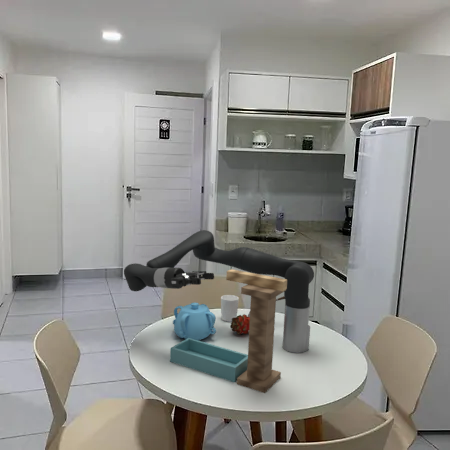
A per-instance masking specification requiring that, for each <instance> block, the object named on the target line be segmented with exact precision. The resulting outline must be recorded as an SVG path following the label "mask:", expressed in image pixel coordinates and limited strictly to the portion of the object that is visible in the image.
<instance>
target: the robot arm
mask: <svg viewBox="0 0 450 450" xmlns="http://www.w3.org/2000/svg"><path fill="white" fill-rule="evenodd" d="M214 237H215V236H214V234H213V233H212V232H211V231H210V230H199V231H196V232H195V233H193V234H191V235H190V236H188V237H187V238H186V239H184V240H183V241H181V242H180V243H178V244H177V245H176V246H174V247H173V248H171V249H169V250H167V251H166V252H164V253H162V254H160V255H158V256H156V257H154V258H152V259H150V260H148V261H147V262H146V265H145V264H141V263H136V262H135V263H130V264H128V265H127V266H125V267H124V270H123V275H124V278H125V280H126V283H127V286H128V289H129V290H130V291H132V292H140V291H142V290H144V289H146V288H147V287H149V288H161V289H175V290H176V289H177V290H178V289H182V288H183V287H186V286H191V285H197V286H198V285H201V284H202V280H204V281H205V280H214V279H215V273H213V272H207V271H206V270H204V271H203V270H201V271H200V270H197V271H196V270H193V271H186V272H185V271H184V269H183V268H182V267H176V266H177V265H178V263H180V262H181V260H183V258H184V257H185V256H186V255H187V254H188V253H190V252H191V251H192V253H193V255H194V257H195V258H197V259H199V260H202V261H206V262H210V263H217V264H221V265H225V266H228V267H233V268H235V269H238V270H240V271H243V272H249V273H254V274H260V275H265V276H277V277H279V278H280V277H281V278H282V279H287V289H286V291H284V292H283V293H284V294H283V295H284V297H285V299H284V302H285V303H284V315H283V316H284V317H283V318H284V319H283V334H282V348H283V350H285V351H287V352H290V353H295V354H297V353H298V354H299V353H300V354H301V353H304V352H306V351H309V349H310V338H311V325H310V324H309V322H310V321H309V319H310V307H311V306H310V305H311V303H310V302H311V299H310V298H309V290H310V289H309V288H310V284H311V283H312V281H313V280H314V277H315V271H314V269H313V267H312V266H311V265H310V264H309V263H306V262H304V261H298V260H294V259H293V260H292V259H287V258H282V257H280V256H276V255H273V254H271V253H266V252H264V251H260V250H257V249H255V248H251V247H247V246H241V247H237V248H233V249H230V250H229V249H228V250H224V249H220V248H217V247H216V246H215V238H214Z"/></svg>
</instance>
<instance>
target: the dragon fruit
mask: <svg viewBox="0 0 450 450" xmlns="http://www.w3.org/2000/svg"><path fill="white" fill-rule="evenodd" d="M249 325H250V317H248V315H247V314H245V313H244V314H242V315H241V314H239V315H237V317H236V318H232V322H230V329H231V331H232V332H235V333H236V334H237V335H239V336H240V335H242V334H244V335H249Z"/></svg>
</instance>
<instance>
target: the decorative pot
mask: <svg viewBox="0 0 450 450" xmlns="http://www.w3.org/2000/svg"><path fill="white" fill-rule="evenodd" d="M178 309H179V312H178ZM173 314H174V319H173V320H172V324H173V331H174V333H175V334H176V336H178V337H179V338H180V339H184V340H185V339H187V338H191V339H194V340H198V341H201V340H203V339H206V338H208V337H209V336H210V335H214V334H216V332H217V329H216V328H215V324H216V319H217V318H216V315H215V314H214V312H212V311H211V310H210V308H209V307H208V305H207V304H205V303H201V304H200V303H199V302H191V303H189V304H186V305H184V306H182V305H178V306H175V307H174V310H173Z"/></svg>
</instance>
